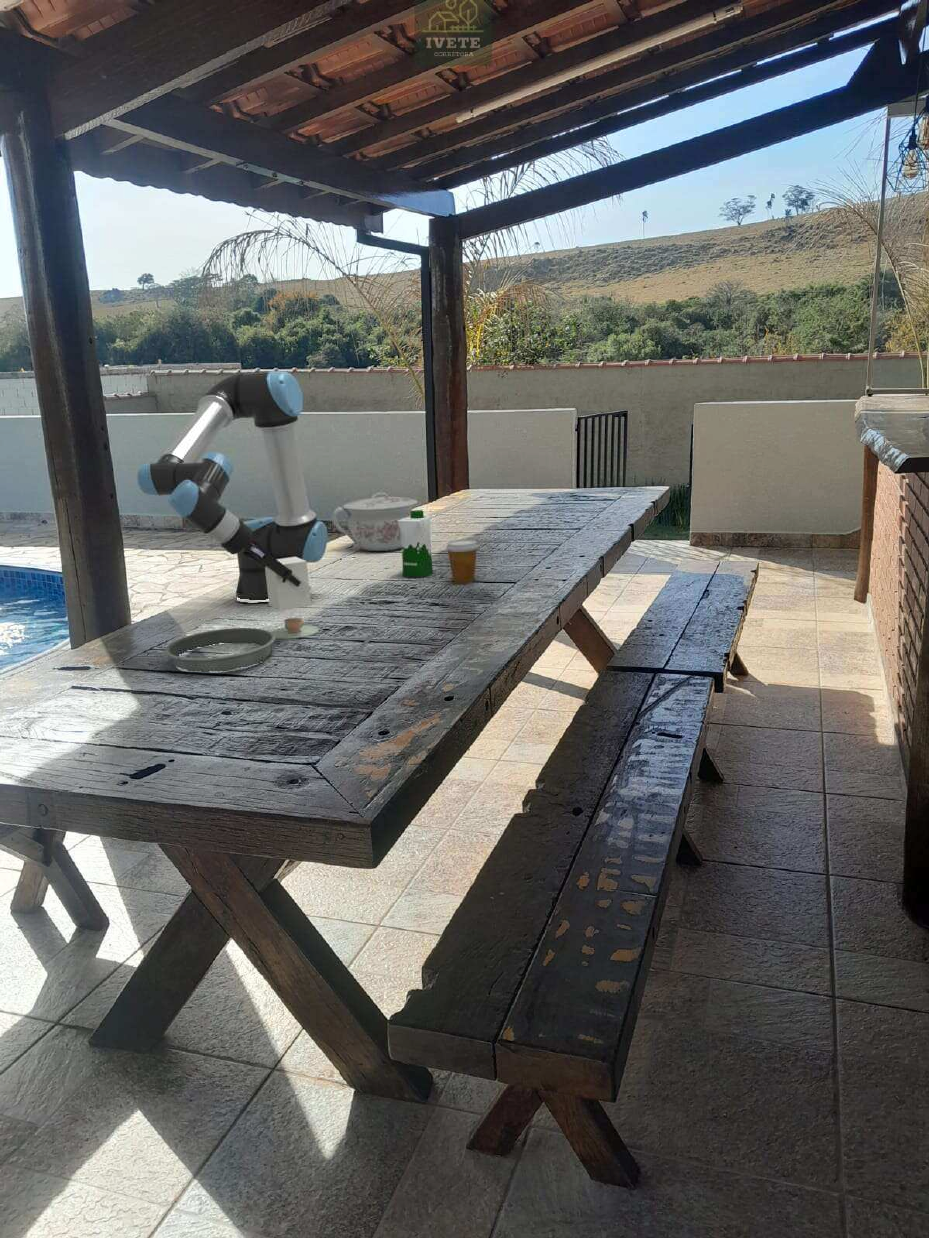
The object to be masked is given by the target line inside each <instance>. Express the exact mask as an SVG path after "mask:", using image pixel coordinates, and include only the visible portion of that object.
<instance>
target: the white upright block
mask: <svg viewBox="0 0 929 1238" xmlns="http://www.w3.org/2000/svg"><path fill="white" fill-rule="evenodd" d="M276 560H278V561H279V562H280V563H282V564H283V565H284V566H286V567H287V568H288V569H289V570H292V573H294V574H295V575H296V576H297V577H299V578H300V579H301V580H302V581H304V582H305V583H306V584H308V585H309V586H310V584H309V583H310V582H309V573H308V563H307V561H305V560H302V559H300V558H297V557H290V558H283V559H276ZM265 572H266V581H267V590H268V599H269V602H268V606H270V607H272V608H274V609H276V610H278V611H281V612H282V611H285V610H292V609H297V608H304V607H308V606H312V603H311V601H312V600H311V592H310V591H309V592H308V593H307V595H306V596H303V595H302V594H301V593H299V592H298V591H297V590H295V589H294V588H293V587H292V586H290V585H289V584H288V583H286V582H285V583H283V582H282V581H283V578H281V577H280V576H279V575H277V574H276V573H275V572H273V571H272V570H270V569H269V568H268V567H266V566H265ZM286 572H287V571H286Z"/></svg>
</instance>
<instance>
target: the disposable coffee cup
mask: <svg viewBox="0 0 929 1238" xmlns="http://www.w3.org/2000/svg"><path fill="white" fill-rule="evenodd" d="M478 546H479V545H478V544H477V540H473V539H456V540H450V541H448V542H447V543H446V547H445V549H446V551H447V552H448V553H447V554H448V560H449V563H450V570H451V575H452V580H453V583H455V584H461V585H462V584H471V583H473V582H475V574H476V559H477V549H478Z"/></svg>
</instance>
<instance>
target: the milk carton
mask: <svg viewBox="0 0 929 1238" xmlns="http://www.w3.org/2000/svg"><path fill="white" fill-rule="evenodd" d="M431 519H432V518H431V516H424V510H422V509H420V510H419V509H414V510H412V511H411V517H407V518H403V519H401V520H398V525H399V529H400V533H401V546H402V548H401V557H402V559H401V560H402V577H403V578H418V579H419V578H420V579H423V578H424V577H427V576H429V575H432V574H433V573H434V571H433V559H432V558H433V557H432V541H431Z"/></svg>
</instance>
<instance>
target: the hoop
mask: <svg viewBox="0 0 929 1238" xmlns="http://www.w3.org/2000/svg"><path fill="white" fill-rule="evenodd" d="M271 632H272V631H269V630H265V629H261V628H255V627H254V628H252V627H236V628H233V627H232V628H231V627H230V628H221V629H214V630H208V631H203V632H202V631H201V632H198V633H194V634H191V635H188V636H183V637H181V638H179V639H177V640H174V641H172V642H171V643H169V645H167V646H166V648H165V649H164V651H165V652H164V653H165V654H166V655H167V656H168V657H169V658H171V659H172V662H173V664H174V666H175V665H176V666H177V667H180V668H182V669H186V670H188V671H198V672H199V671H201V672H209V671H228V670H233V669H236V668H241V667H247V666H250V665H253V664H257V663H260V662H262V661H264V660H265V659H267V658H268V657H269V656H270V655H271V652H272V644H273V643H274V642H275V641H276V639H277V638H276V637H275V635H274V634H273V633H271ZM219 643H232V644H251V643H255V644H254V645H259V647H256V648H254V649H251V650H248V651H243V652H240V653H235V654H229V655H223V656H211V657H212V658H185V657H179V654H182V653H184V652H185V651H187V650H193V649H195V648H197V647H204V648H206V647H205V646H209V645H213V644H219ZM209 647H210V646H209Z"/></svg>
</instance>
